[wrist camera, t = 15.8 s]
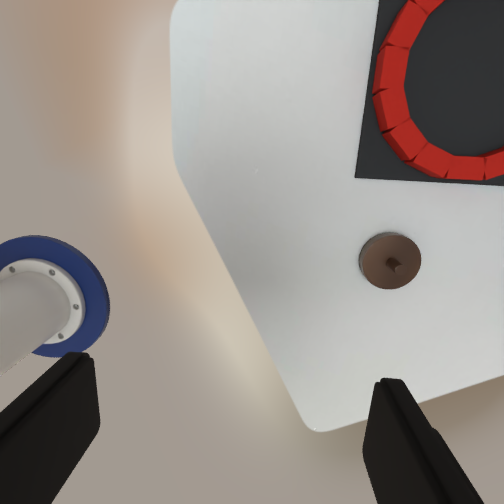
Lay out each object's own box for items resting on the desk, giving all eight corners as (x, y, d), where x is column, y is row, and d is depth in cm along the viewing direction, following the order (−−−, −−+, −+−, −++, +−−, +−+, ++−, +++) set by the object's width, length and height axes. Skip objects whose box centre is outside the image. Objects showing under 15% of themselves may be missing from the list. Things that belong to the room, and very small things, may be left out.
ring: (360, 174, 32) (366, 174, 30) (391, -45, 27) (401, -63, 25) (545, 183, 31) (565, 184, 29) (614, -41, 26) (644, -60, 24)
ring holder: (355, 282, 36) (365, 296, 32) (363, 230, 34) (374, 238, 30) (409, 286, 36) (426, 300, 32) (420, 234, 34) (439, 242, 30)
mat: (354, 177, 33) (355, 177, 32) (386, -47, 27) (387, -50, 27) (544, 187, 32) (548, 188, 31) (615, -43, 26) (621, -46, 26)
